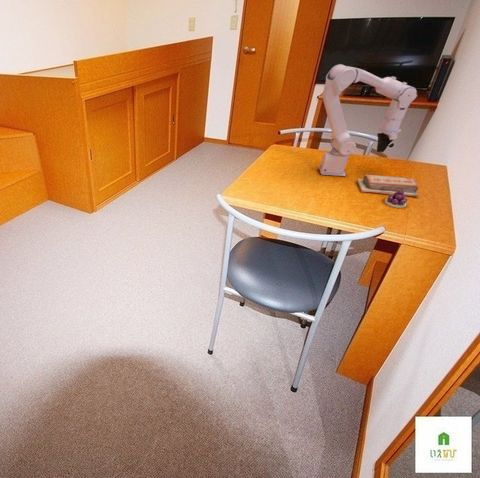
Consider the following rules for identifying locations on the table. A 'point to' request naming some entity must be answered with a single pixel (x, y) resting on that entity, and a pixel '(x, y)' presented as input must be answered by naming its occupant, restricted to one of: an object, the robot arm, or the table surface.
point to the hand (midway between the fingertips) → (379, 151)
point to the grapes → (397, 199)
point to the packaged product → (388, 185)
